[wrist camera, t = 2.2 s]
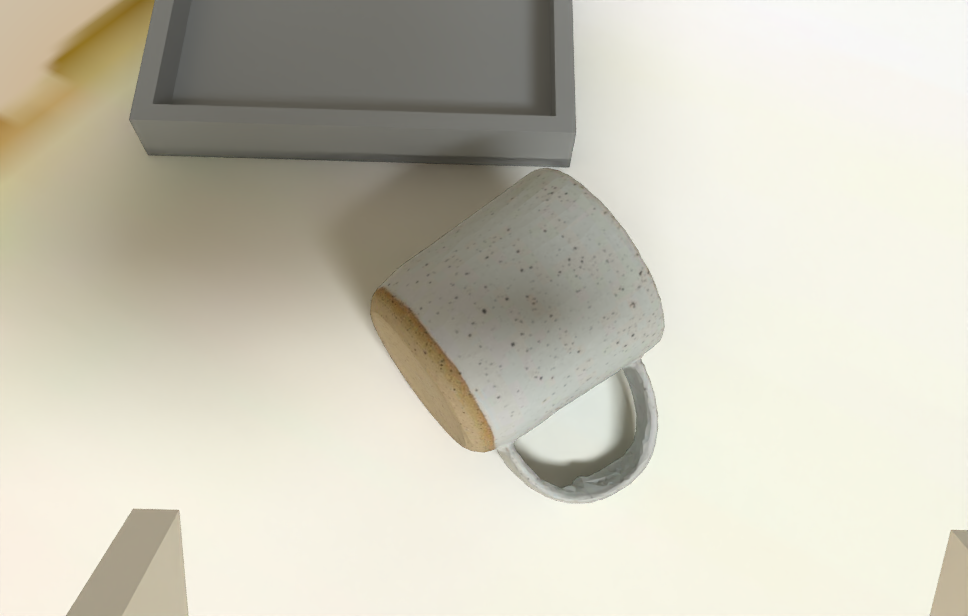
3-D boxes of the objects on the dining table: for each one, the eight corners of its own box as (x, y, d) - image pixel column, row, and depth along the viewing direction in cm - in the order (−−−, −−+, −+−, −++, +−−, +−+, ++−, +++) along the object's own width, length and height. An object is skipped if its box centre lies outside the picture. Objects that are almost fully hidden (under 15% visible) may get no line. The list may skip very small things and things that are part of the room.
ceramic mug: (363, 343, 36) (343, 253, 29) (525, 231, 38) (542, 123, 31) (536, 562, 33) (559, 521, 26) (700, 427, 35) (764, 355, 28)
